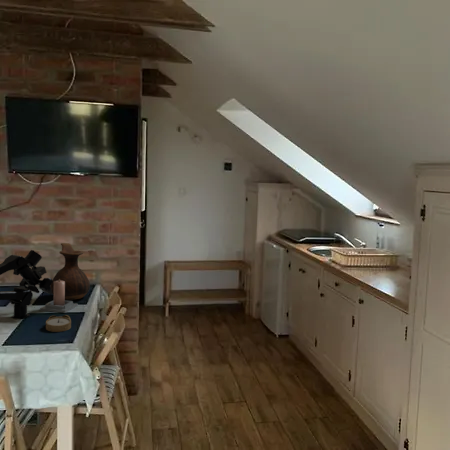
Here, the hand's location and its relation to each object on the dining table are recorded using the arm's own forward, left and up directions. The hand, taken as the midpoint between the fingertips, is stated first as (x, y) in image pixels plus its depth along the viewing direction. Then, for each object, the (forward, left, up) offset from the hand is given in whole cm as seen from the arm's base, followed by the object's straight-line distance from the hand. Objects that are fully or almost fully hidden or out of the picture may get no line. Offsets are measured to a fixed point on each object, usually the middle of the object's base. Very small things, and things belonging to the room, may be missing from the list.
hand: (45, 293), depth 260 cm
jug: (+29, 0, -10) cm, 30 cm away
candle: (+7, -4, -8) cm, 11 cm away
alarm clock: (-22, -19, -10) cm, 30 cm away
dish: (+7, -4, -9) cm, 12 cm away
